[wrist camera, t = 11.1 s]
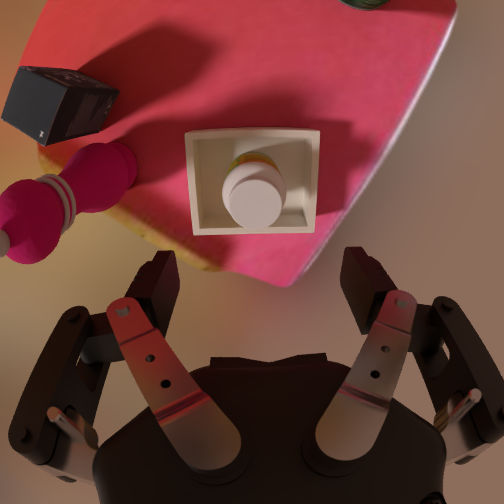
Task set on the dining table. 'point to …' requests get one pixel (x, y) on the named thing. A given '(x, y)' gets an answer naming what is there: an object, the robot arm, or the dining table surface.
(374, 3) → the canned tomato
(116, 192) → the pepper mill
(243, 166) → the supplement bottle
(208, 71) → the dining table surface
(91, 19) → the dining table surface
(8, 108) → the box
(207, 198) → the tub
